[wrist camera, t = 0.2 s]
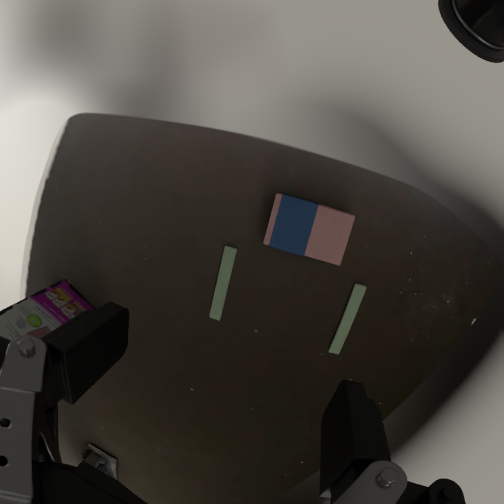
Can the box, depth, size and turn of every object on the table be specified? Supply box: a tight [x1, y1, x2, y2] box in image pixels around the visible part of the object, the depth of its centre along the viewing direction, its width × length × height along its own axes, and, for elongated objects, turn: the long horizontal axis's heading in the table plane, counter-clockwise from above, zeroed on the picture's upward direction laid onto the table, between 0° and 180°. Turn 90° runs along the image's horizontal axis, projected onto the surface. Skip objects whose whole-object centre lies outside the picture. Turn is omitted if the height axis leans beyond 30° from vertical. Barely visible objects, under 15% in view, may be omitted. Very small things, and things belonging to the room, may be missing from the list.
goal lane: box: [209, 246, 366, 354], centre depth 29 cm, size 8×14×1 cm, turn 76°
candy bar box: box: [0, 279, 94, 340], centre depth 27 cm, size 11×5×16 cm, turn 55°
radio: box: [81, 444, 118, 481], centre depth 39 cm, size 23×9×15 cm, turn 156°
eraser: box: [263, 193, 355, 266], centre depth 26 cm, size 5×7×3 cm, turn 76°
